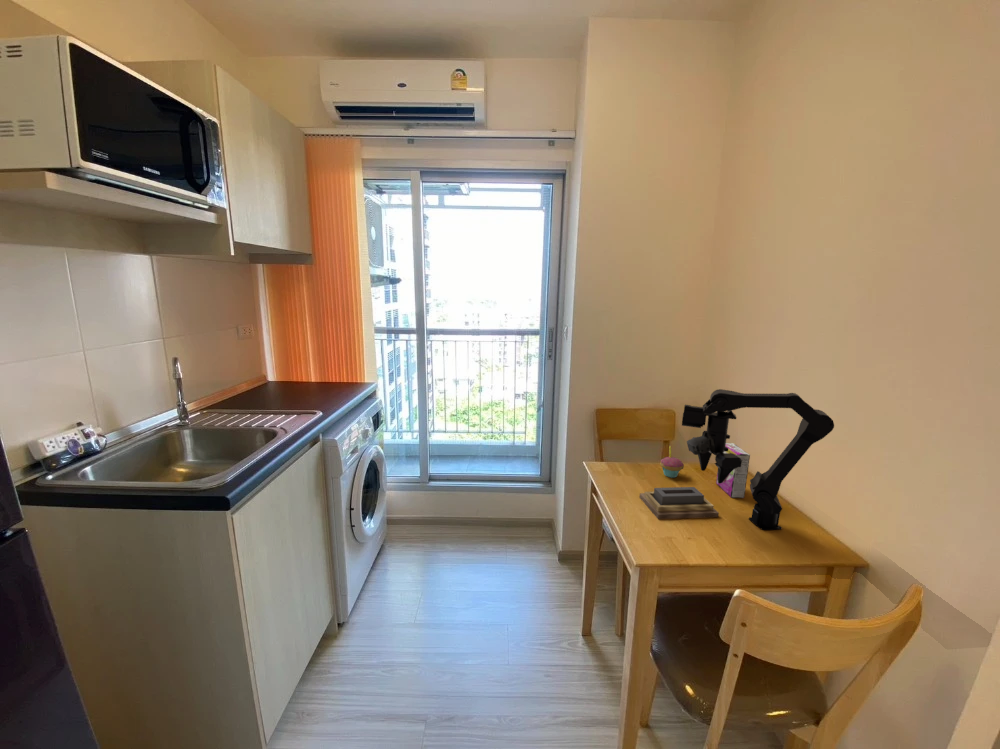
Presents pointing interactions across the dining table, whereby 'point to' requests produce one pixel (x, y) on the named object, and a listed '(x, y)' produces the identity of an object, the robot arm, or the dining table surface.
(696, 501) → the dark gray frame
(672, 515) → the walnut board
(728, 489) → the candy bar box
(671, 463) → the cupcake
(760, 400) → the robot arm
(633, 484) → the dining table surface
